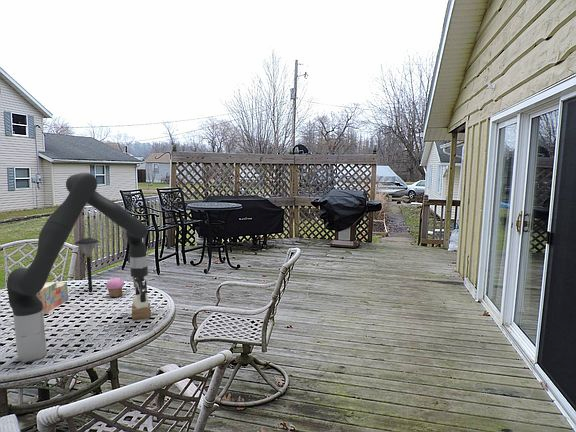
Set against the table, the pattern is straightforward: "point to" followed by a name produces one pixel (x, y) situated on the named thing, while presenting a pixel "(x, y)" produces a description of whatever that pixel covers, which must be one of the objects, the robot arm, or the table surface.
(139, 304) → the cream cube
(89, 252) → the solar garden light
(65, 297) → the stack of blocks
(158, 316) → the table surface
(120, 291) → the cupcake
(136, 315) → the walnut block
